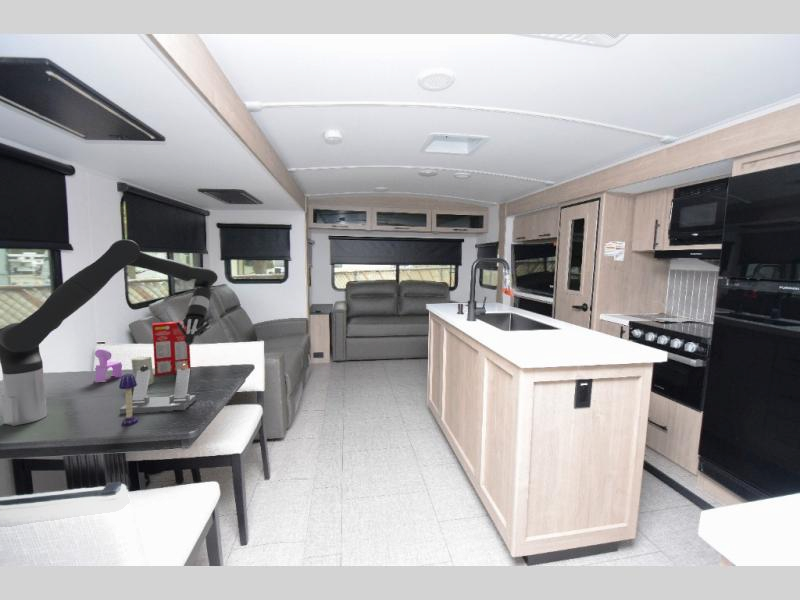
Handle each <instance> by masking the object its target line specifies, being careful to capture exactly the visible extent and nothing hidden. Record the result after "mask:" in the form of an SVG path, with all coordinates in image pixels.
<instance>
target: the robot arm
mask: <svg viewBox="0 0 800 600" xmlns="http://www.w3.org/2000/svg"><path fill="white" fill-rule="evenodd" d="M127 266H131V267H136V268H140V269H144V270H147V271H149V270H150V271H153V272H155V273H158V274H162V275H165V276H168V277H170V278H171V277H172V278H174V279H177V280H180V281H181V280H182V281H184V282H189V281H191V280H194V284H193V293H192V296H191V299H190V301H189V303H188V307H187V311H186V314H185V317H184V318H183V319H182V321H183V322H181V323H179V321H177V322H178V323H176V325H177V326H178V328H179V329H180V331H181V332H182V334H183V335H184V336H186V338H185V343H186V344H187V345H190V346H191V345H192V344H193V343H194V341H195V338H196V336H197V337H199V336H201V335H202V334H203V333H205V332H206V331H208V330H209V329H210V328H211V325H210V323H209V322H207V321H206V319H207V315H208V312H209V310H210V309H209V307H210V301H211V298H212V290H211V288H212V286H213V285H214V284H216V282H217V281H218V278H219V277H218V275H217V273H216V272H215V271H214V270H213V269H209V268H206V267H198V266H191V265H188V264H185V263H182V262H179V261H176V260H173V259H168V258H162V257H159V256H156V255H155V256H154V255H151V254H149V253H146V252H143V251H141V249H140V246H139V244H138V243H137V242H135V241H134V240H131V239H119V240H116V241H115V242H113V243H112V244H111V245H110V246H109V248H108V249H107V250H106V251H105V252H104V253H103V254H102V255H101V256H100V257H99V258H98V259H97V260H95V261H94V262H92V263H91V264H89V265H87V266H86V267H84V268H82V269H81V270H80V271H78V272H76V273H74V274H73V275H72V276H70V277H69V278H68V279H66V280H65V281H64V282H63V283H62V284H60V285H59V286H57V288H56V289H54V290H53V291H52V293H51V294H50V295H49V296H48V297H47V298H46V300H45V301H44V303H42V305H41V306H40V307H39V308H38V309H37V310H35V312H33V313H32V314H30V315H29V316H27V318H24V319H23V320H22V321H21V322H14V323H10V324H8V325H6V326H3V327H2V328H1V329H0V366H1V372H2V373H1V374H2V381H3V383H2V384H3V391H4V392H3V393H4V394H3V395H1V406H2V416H3V417H2V418H3V423H4V424H6V425H8V426H12V427H15V426H18V425H23V424H29V423H34V422H37V421H40V420H42V419H44V418H45V417H47V416H48V408H47V400H46V388H45V379H44V377H45V376H44V367H43V365H44V363H43V359H42V356H41V352H40V344H41V343H42V342H43V341H44V340H45V339H46V338H47V337H48V336H49V335H50V333H52V332H53V330H55V329H56V328H57V327H58V325H60V324H61V323H63V321H65V320H66V319H67V318H69V317H70V316H71V315H73V314H74V313H75V312H77V311H78V310H79V309H80V308H81V307H83V306H84V305H85V304H87V303H88V302H89V301H90V300H92V299H93V298H94V297H95V296H96V295H97V294H98V293H99V292H101V290H102V289H103V287H105V286H106V285H107V284H108V283H109V281H111V279H112V278H113V277H114V276H115V275H116V274H118V273H119V272H120V271H121V270H123V269H125V268H126V267H127ZM184 324H185V326H186V327H187V331H185V330H184V329H183V327H184Z"/></svg>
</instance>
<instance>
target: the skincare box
mask: <svg viewBox="0 0 800 600" xmlns="http://www.w3.org/2000/svg"><path fill="white" fill-rule="evenodd" d="M142 366H147V367H148V370H151V371H150V377H149V383H148V386H149V385H153V384H154V373H153V372H154V370H153V361H152V357H151V356H137V357H136V358H132V359H131V368H132V374H133V375H134V378H135V380H136V375H137V370H140V368H141V367H142Z"/></svg>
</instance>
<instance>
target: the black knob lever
mask: <svg viewBox="0 0 800 600" xmlns="http://www.w3.org/2000/svg"><path fill="white" fill-rule="evenodd" d="M150 371H151V370H148V367H147V366H142V367H141V368H140V370H137V375H136V383H137V386H136V387H133V392H132V402H138V401H145V400H144V398H145V397H147V396H148V395H147V394H148V389H149V388H148V387H149V385H148V383H149V377H150Z"/></svg>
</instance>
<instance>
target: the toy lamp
mask: <svg viewBox="0 0 800 600" xmlns="http://www.w3.org/2000/svg"><path fill="white" fill-rule="evenodd" d="M136 386H137V383H136V380H135V378H134V375H133V373H126V374H122V377H120V381H119V386H118V388H119V389H120V390H124V391H125V394H124V395H125V405H126V409H127V410H126V413H127V414H125V418H124V419H123V420H122V422H121V425H122V426H125V425H126V426H131V425H134V424H136V423H139V421H138V418H137V417H136V416H133V413H132V397H133V392H132V389H134V387H136Z"/></svg>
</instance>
